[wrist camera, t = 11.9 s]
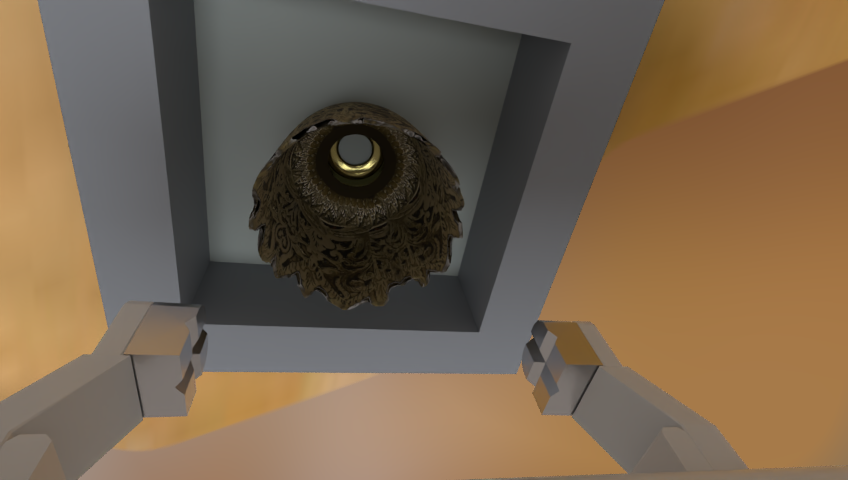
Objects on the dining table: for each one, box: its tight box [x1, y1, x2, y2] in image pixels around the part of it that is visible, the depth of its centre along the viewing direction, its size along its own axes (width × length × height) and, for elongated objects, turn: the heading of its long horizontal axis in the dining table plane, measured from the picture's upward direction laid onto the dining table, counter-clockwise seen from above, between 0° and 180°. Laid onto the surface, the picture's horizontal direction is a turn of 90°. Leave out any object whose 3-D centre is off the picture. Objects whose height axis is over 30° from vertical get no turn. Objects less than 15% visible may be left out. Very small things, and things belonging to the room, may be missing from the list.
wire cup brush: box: [248, 102, 465, 310], centre depth 19 cm, size 8×7×8 cm
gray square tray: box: [38, 0, 665, 374], centre depth 21 cm, size 20×20×6 cm
